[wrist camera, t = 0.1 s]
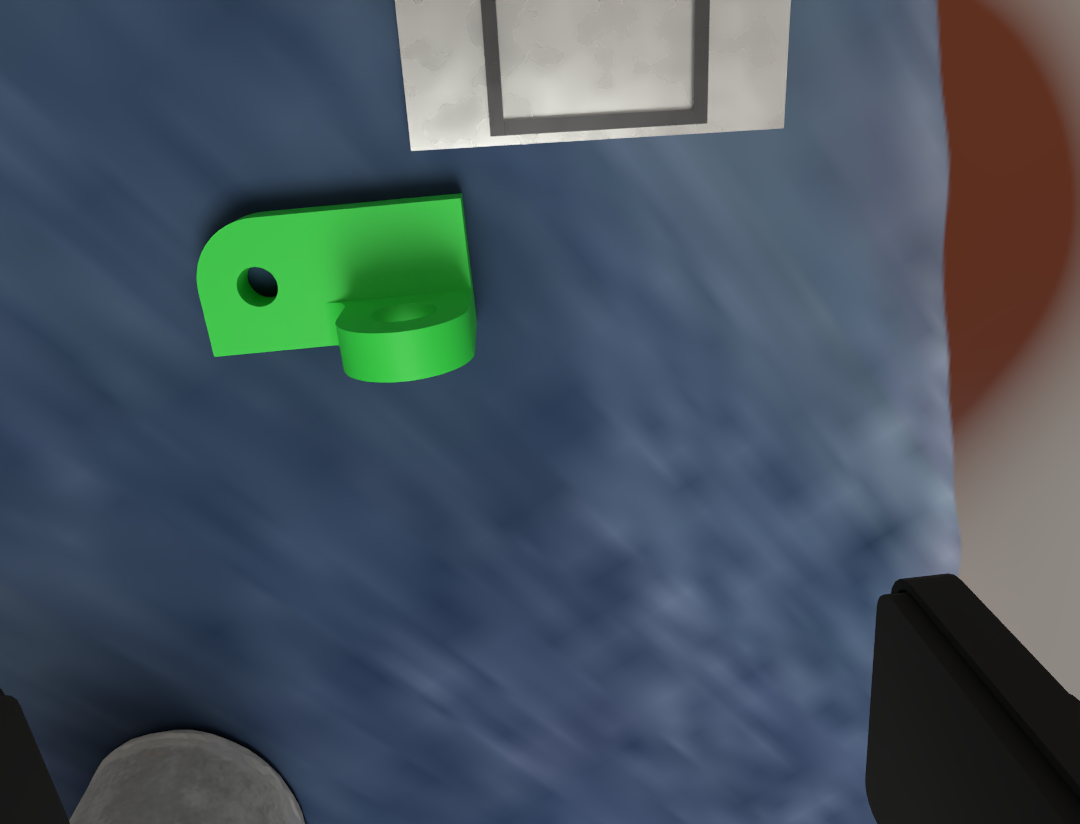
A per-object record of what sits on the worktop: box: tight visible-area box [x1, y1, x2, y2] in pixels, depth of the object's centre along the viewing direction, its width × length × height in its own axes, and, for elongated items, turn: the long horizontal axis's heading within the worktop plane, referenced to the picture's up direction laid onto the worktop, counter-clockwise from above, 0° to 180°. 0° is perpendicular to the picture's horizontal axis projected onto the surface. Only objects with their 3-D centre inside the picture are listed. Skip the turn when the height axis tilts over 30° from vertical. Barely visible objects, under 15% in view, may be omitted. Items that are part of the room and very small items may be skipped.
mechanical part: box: [197, 193, 477, 382], centre depth 34 cm, size 12×6×8 cm, turn 95°
